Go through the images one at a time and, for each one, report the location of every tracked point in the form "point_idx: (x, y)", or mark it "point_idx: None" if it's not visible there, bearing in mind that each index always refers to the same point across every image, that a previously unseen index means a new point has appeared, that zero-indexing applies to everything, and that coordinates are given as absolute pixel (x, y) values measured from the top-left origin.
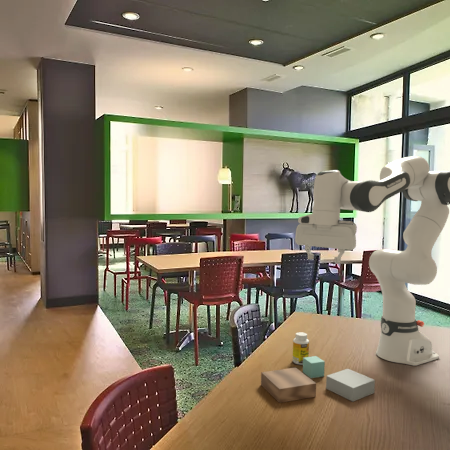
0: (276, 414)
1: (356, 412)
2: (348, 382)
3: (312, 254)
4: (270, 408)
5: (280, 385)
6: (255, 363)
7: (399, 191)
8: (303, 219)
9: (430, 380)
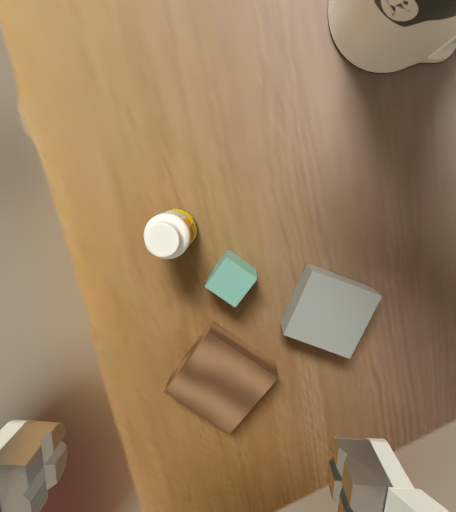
0: (244, 446)
1: (356, 376)
2: (334, 340)
3: (30, 501)
4: (227, 436)
5: (224, 421)
6: (102, 294)
7: None
8: None
9: None
